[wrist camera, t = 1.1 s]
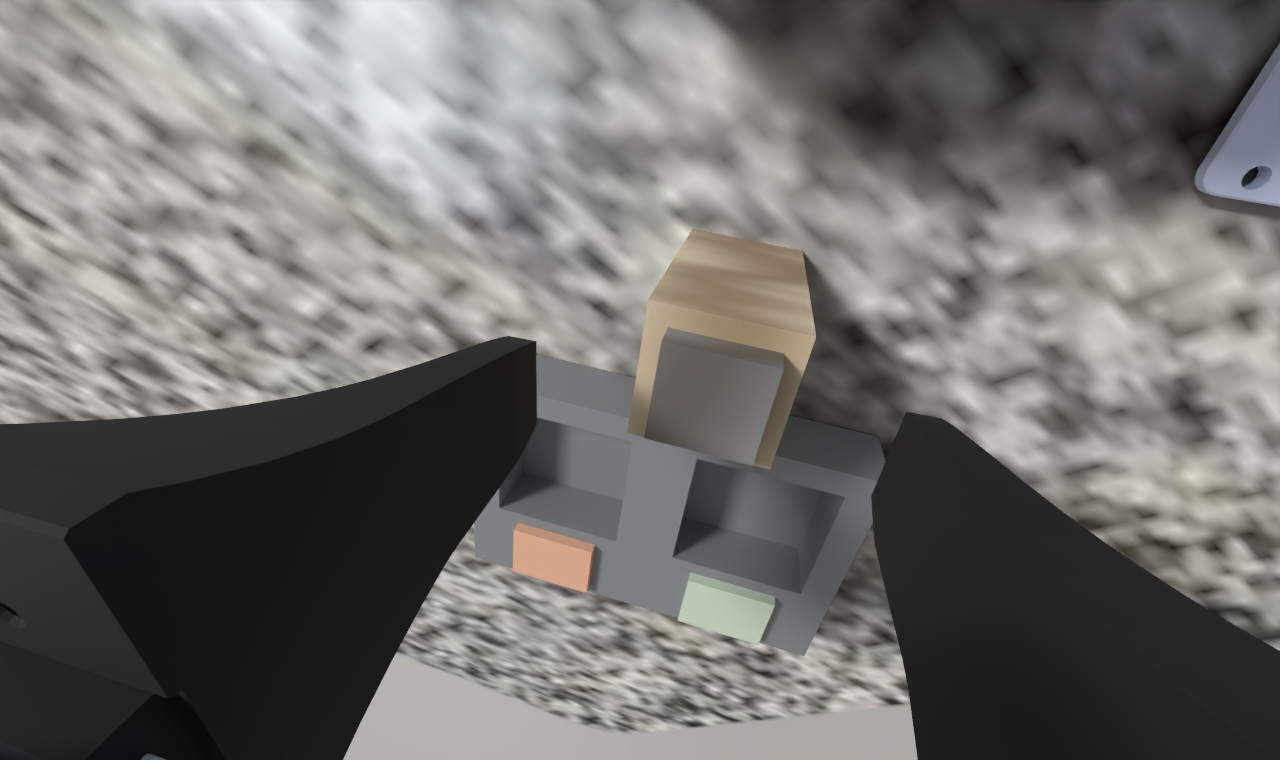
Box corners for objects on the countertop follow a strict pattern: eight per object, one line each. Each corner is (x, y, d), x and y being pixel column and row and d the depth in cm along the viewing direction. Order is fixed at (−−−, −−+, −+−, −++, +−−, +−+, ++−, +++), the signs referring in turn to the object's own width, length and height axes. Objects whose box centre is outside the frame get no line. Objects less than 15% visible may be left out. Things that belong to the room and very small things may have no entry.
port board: (878, 436, 18) (895, 493, 15) (801, 600, 22) (804, 665, 20) (503, 346, 20) (462, 383, 17) (503, 515, 24) (470, 564, 22)
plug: (802, 250, 16) (818, 352, 9) (772, 349, 17) (769, 489, 11) (692, 229, 16) (640, 311, 10) (674, 327, 18) (620, 450, 12)
